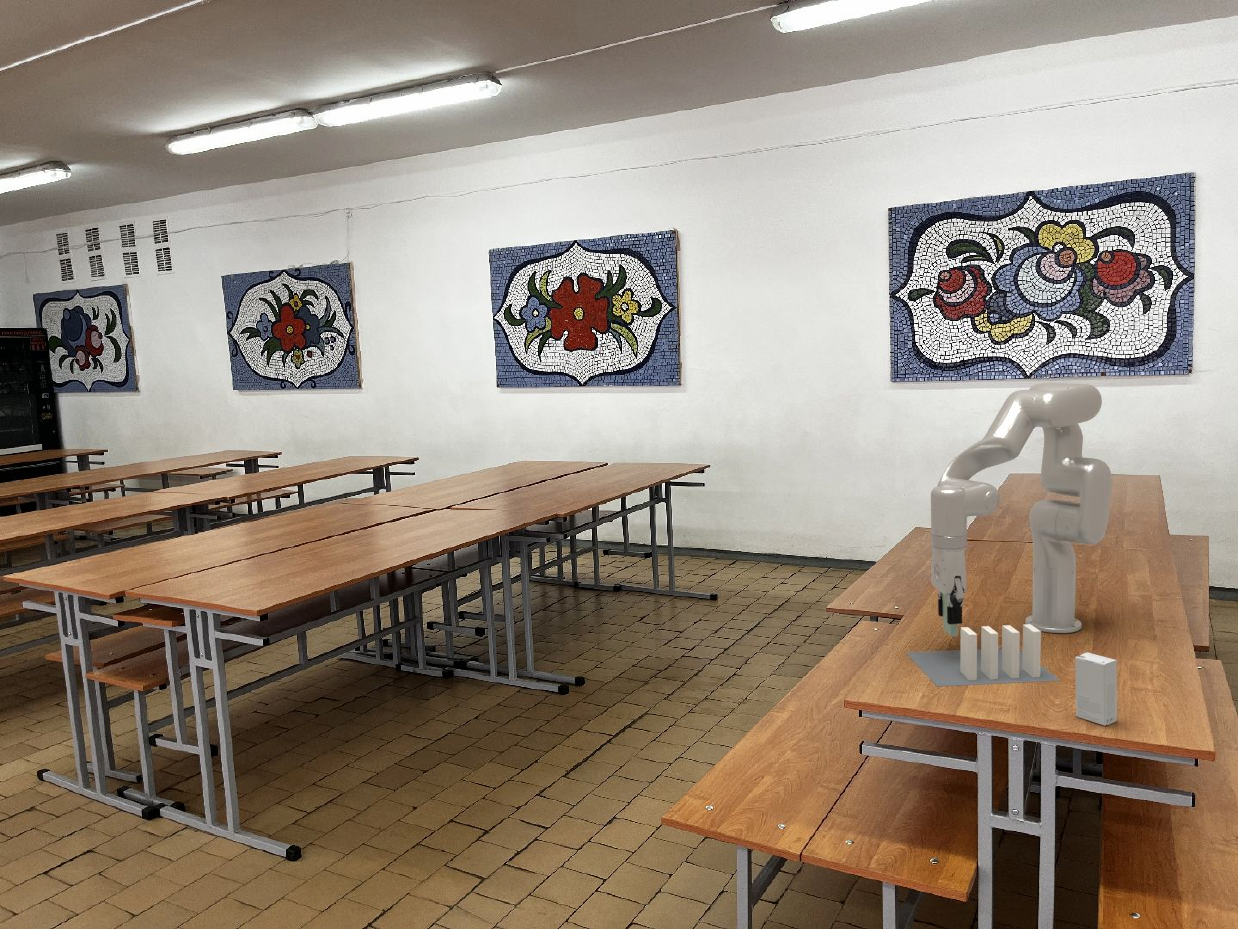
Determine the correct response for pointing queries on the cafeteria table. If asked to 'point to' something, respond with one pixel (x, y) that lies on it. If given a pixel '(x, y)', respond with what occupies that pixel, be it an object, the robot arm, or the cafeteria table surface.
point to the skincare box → (1096, 688)
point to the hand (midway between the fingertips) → (950, 618)
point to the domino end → (948, 628)
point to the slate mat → (947, 669)
